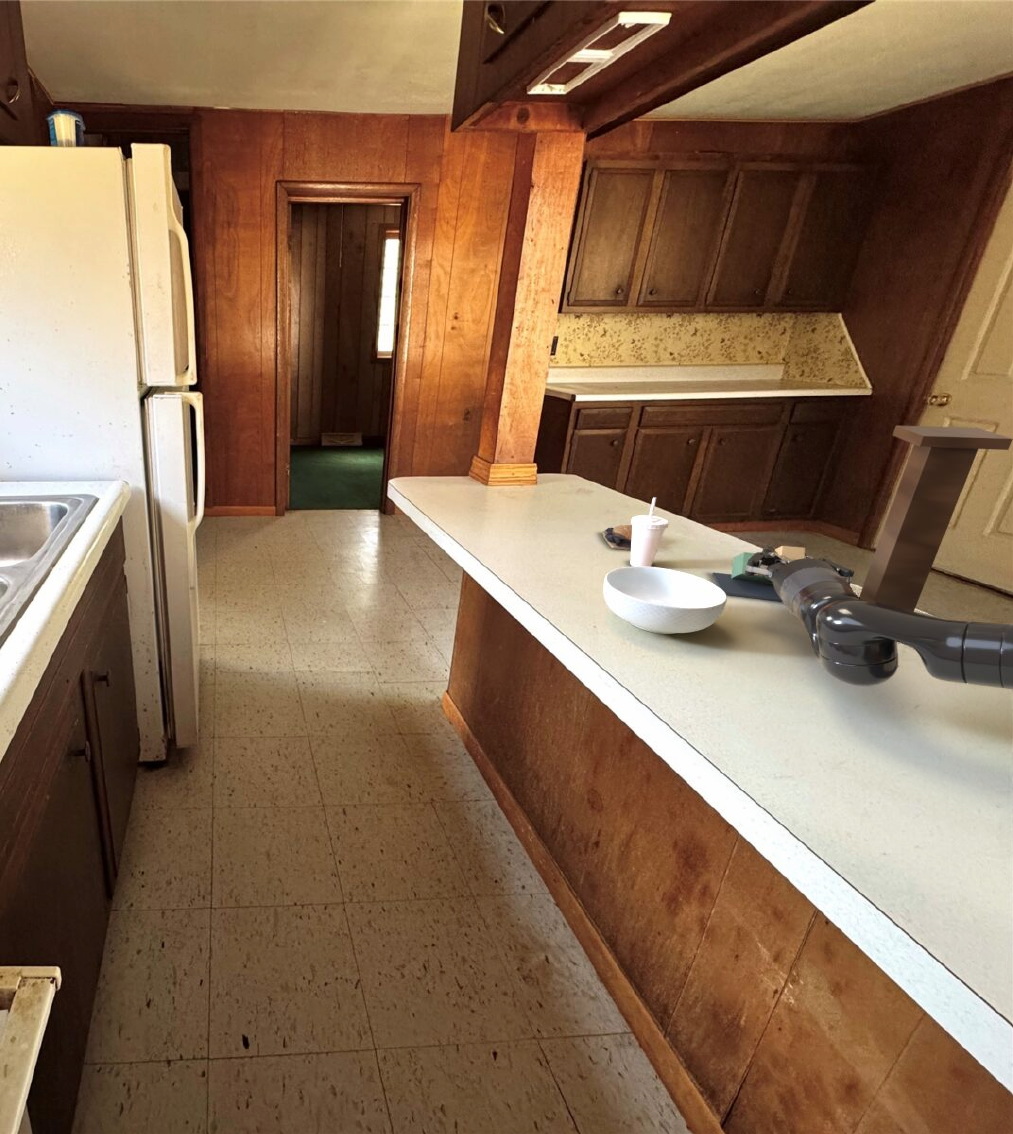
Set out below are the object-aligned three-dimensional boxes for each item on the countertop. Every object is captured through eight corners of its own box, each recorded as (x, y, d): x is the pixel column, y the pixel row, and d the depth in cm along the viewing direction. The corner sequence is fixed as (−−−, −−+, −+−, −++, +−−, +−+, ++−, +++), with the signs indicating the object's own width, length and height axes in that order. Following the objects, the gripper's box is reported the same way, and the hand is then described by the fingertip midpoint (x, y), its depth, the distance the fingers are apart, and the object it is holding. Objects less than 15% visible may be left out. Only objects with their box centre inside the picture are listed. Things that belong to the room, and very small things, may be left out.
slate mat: (789, 583, 116) (790, 580, 116) (805, 604, 108) (806, 602, 108) (712, 574, 121) (712, 572, 121) (722, 594, 113) (722, 592, 113)
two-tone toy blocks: (777, 583, 115) (779, 562, 115) (819, 567, 98) (822, 543, 99) (731, 578, 118) (733, 557, 118) (764, 562, 101) (767, 538, 102)
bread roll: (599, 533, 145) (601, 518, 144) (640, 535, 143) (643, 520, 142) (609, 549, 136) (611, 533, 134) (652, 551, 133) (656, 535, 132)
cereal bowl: (627, 648, 96) (636, 607, 94) (581, 602, 112) (587, 566, 109) (741, 647, 95) (753, 606, 93) (678, 601, 111) (687, 564, 108)
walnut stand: (902, 617, 102) (977, 427, 91) (928, 642, 95) (1013, 438, 83) (832, 609, 106) (895, 425, 95) (851, 632, 99) (923, 435, 87)
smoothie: (659, 562, 128) (674, 496, 123) (658, 573, 123) (673, 504, 118) (623, 557, 131) (636, 492, 126) (621, 567, 126) (634, 500, 121)
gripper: (748, 607, 95) (725, 568, 109) (867, 623, 89) (827, 579, 104) (761, 561, 92) (735, 527, 107) (885, 574, 86) (841, 536, 101)
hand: (781, 553), depth 105 cm, fingers closed on two-tone toy blocks, 3 cm apart
